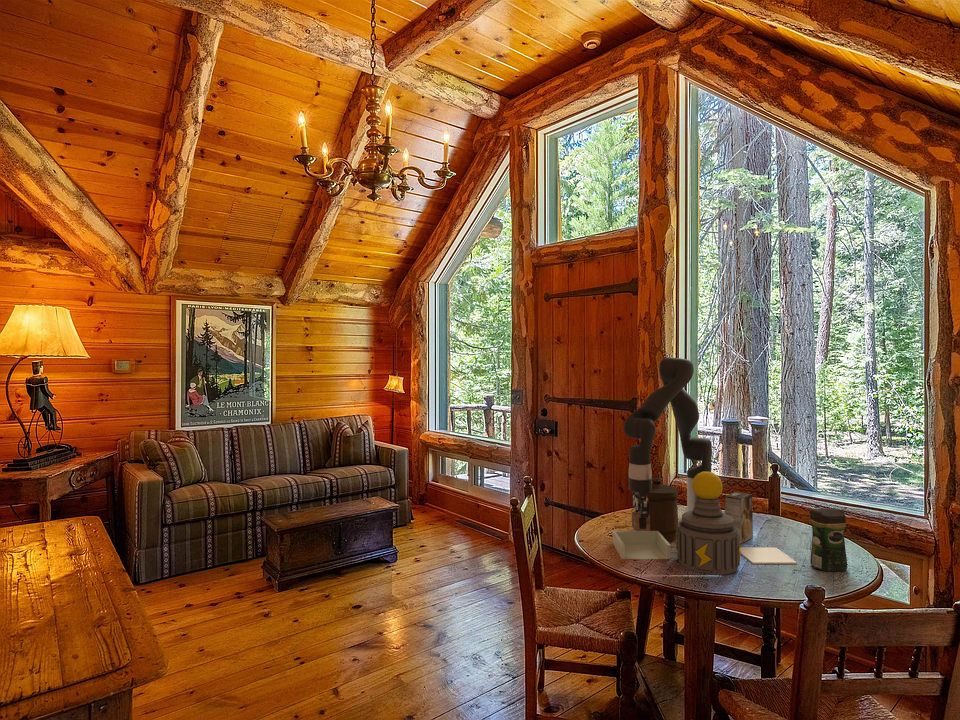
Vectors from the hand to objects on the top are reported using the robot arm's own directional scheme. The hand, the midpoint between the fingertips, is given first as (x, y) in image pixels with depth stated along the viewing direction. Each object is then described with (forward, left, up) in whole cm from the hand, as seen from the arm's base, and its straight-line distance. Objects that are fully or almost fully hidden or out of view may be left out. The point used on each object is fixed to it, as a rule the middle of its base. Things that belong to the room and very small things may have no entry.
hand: (640, 525), depth 192 cm
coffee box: (-15, +39, -9) cm, 43 cm away
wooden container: (-17, +10, -9) cm, 22 cm away
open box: (0, 0, -9) cm, 9 cm away
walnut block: (0, 0, -1) cm, 1 cm away
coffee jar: (+13, +55, -9) cm, 57 cm away
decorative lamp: (+11, +18, -9) cm, 24 cm away
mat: (+3, +40, -9) cm, 41 cm away
